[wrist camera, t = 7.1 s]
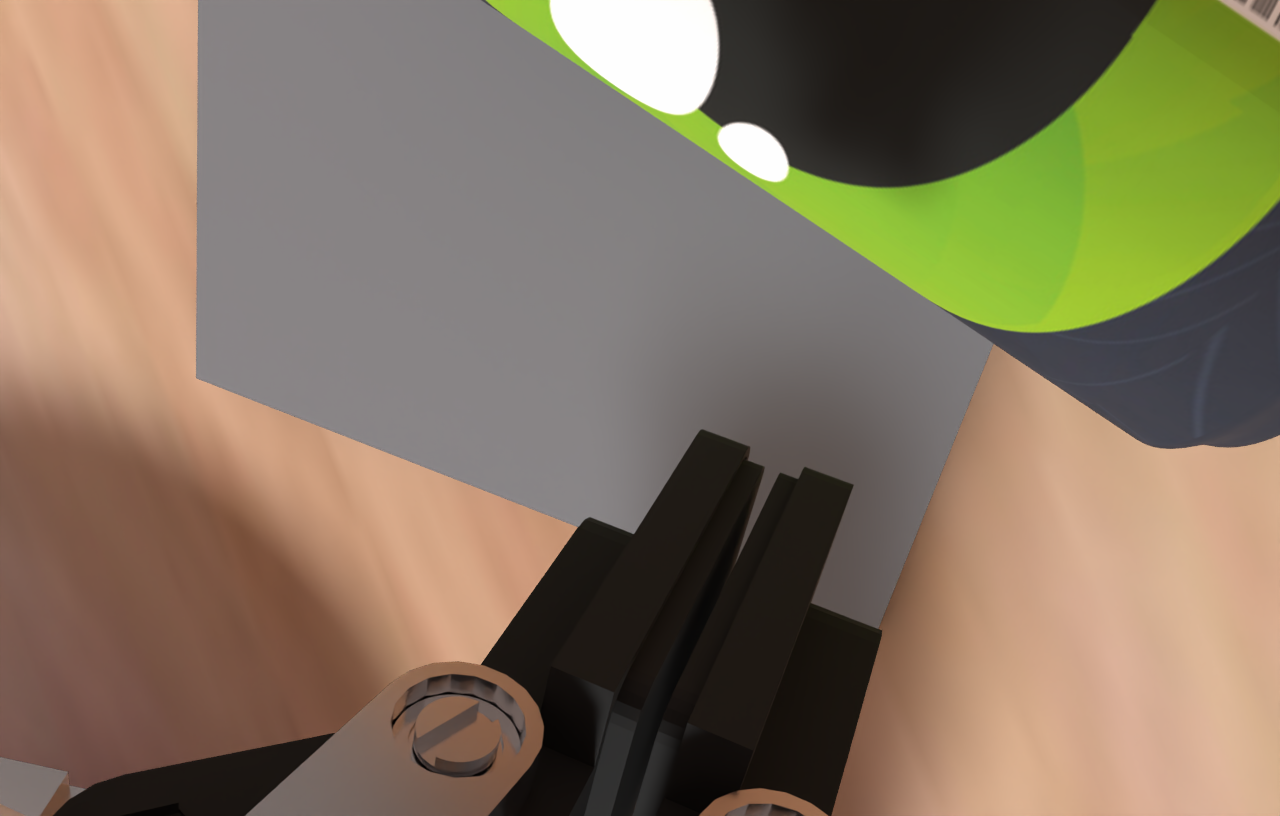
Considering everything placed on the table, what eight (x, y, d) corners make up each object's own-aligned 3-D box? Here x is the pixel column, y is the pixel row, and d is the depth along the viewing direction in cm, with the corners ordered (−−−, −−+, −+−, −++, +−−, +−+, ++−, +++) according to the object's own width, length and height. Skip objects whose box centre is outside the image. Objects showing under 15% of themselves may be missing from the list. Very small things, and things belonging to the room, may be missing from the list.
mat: (1224, -235, 17) (1226, -234, 16) (877, 627, 25) (873, 642, 25) (220, -470, 20) (200, -475, 19) (209, 368, 28) (196, 378, 28)
